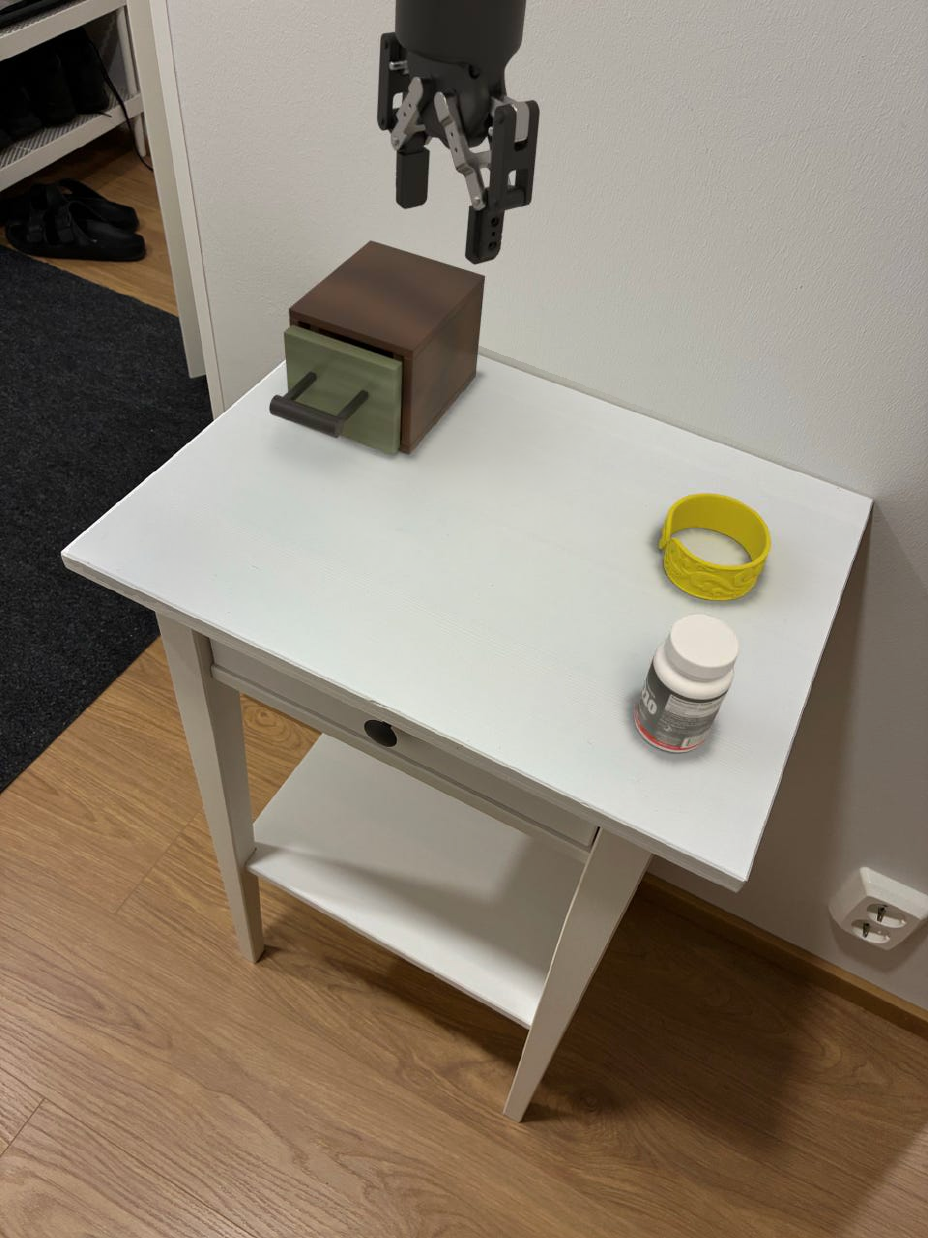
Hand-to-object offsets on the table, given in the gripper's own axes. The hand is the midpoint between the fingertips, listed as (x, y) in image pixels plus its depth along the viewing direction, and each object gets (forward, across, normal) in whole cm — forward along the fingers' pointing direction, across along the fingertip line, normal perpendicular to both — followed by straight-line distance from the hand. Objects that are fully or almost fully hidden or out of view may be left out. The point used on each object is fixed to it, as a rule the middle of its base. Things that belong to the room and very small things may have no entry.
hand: (445, 231), depth 66 cm
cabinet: (+17, -7, 0) cm, 19 cm away
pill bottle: (+18, +32, -3) cm, 36 cm away
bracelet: (+18, +22, +10) cm, 30 cm away
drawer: (+17, -4, -4) cm, 18 cm away
